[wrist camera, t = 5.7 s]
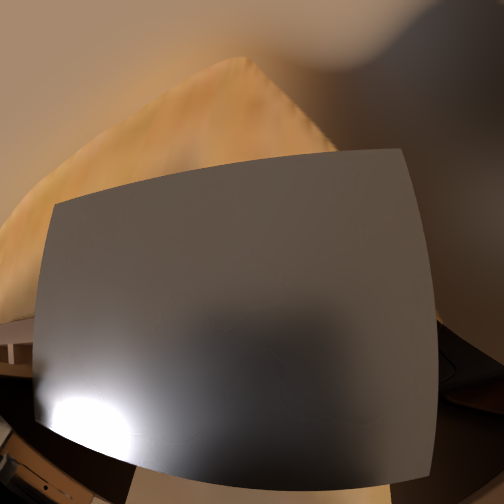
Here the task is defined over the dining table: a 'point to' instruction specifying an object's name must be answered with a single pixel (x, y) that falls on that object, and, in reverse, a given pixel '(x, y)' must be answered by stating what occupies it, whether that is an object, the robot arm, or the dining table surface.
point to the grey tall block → (245, 324)
